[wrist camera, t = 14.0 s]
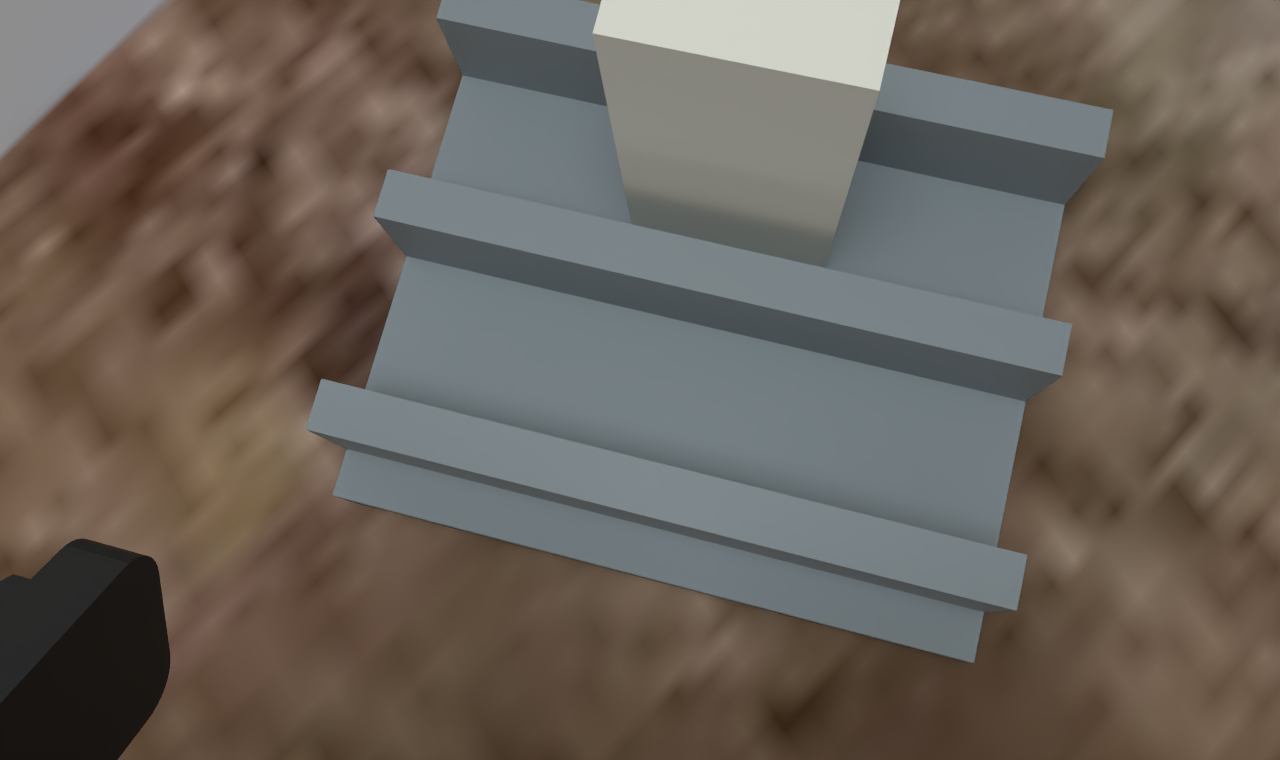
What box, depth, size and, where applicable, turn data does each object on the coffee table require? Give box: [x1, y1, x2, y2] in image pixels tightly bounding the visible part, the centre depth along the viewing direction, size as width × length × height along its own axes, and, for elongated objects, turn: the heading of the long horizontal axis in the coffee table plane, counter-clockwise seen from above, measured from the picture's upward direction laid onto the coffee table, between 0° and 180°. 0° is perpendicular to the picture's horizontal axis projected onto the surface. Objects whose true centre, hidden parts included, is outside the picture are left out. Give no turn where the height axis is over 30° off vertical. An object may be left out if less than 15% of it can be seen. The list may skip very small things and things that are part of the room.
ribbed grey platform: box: [306, 0, 1113, 663], centre depth 28 cm, size 16×14×4 cm
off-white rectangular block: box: [593, 0, 900, 268], centre depth 25 cm, size 5×2×10 cm, turn 76°
